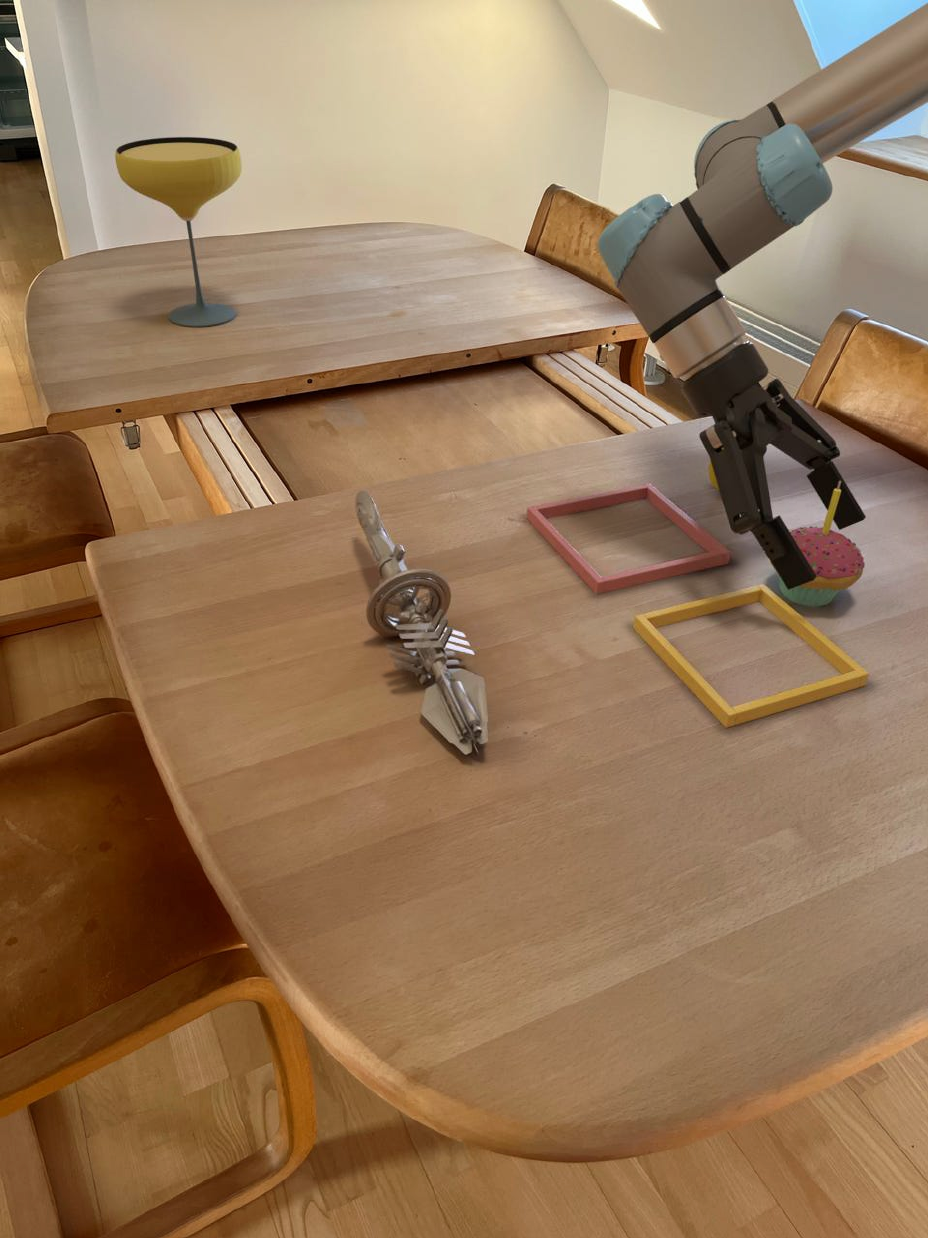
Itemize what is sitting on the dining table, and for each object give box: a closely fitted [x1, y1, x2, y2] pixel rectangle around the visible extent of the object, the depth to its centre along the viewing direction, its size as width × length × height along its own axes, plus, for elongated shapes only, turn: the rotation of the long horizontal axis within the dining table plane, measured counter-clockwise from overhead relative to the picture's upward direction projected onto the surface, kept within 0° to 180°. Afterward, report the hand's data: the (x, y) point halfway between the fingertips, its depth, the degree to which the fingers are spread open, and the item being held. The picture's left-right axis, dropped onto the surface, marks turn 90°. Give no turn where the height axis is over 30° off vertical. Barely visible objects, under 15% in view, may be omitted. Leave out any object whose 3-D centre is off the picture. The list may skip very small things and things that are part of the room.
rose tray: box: [526, 483, 732, 595], centre depth 99 cm, size 16×16×2 cm
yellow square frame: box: [632, 583, 870, 728], centre depth 84 cm, size 15×15×2 cm
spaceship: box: [355, 490, 489, 756], centre depth 84 cm, size 8×35×8 cm
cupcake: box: [770, 481, 866, 607], centre depth 89 cm, size 9×8×12 cm
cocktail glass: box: [114, 136, 242, 328], centre depth 146 cm, size 18×18×25 cm
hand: (829, 552), depth 89 cm, fingers open, 13 cm apart
